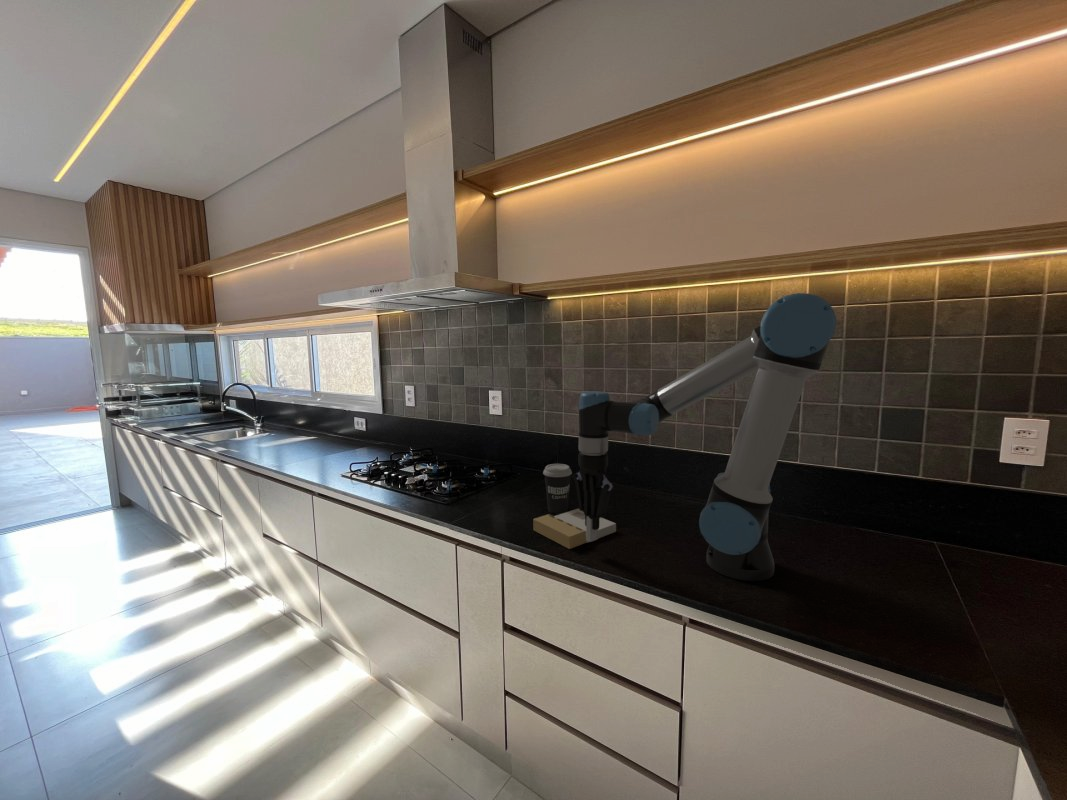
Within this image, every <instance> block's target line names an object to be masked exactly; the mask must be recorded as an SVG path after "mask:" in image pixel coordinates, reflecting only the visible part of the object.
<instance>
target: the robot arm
mask: <svg viewBox="0 0 1067 800" xmlns="http://www.w3.org/2000/svg"><path fill="white" fill-rule="evenodd" d="M836 328H837V317H836V313H835V310H834V309H833V307H832V305H831V304H830V303H829V302H827V300H826V299H824V298H822V297H820V296H819V295H815V294H812V293H804V292H801V293H800V292H797V293H791V294H787V295H784V296H782V297H781V298H779V299H777V300H776V301H774V302H773V303H771V305H770V306H769V307H768V308H767V310H766V311H765V312H764V313H763V316H762V318H761V321H760V325H759V326H757V327H755V328H753V329H752V332H751V335H750V336H748V337H747V338H745V339H744V340H742V341H740V342H737V343H735V345H733V346H731V347H730V348H728V349H726V350H724V351H723V352H721V353H719V354H717V355H715V356H714V357H712V358H711V359H709V360H707V361H705V362H703V363H702V364H699V366H696V367H695V368H694V369H691V370H690V371H688V372H686V373H684V374H683V375H681V376H680V377H678V378H675V379H674V380H673V381H672V380H671V382H669V383H667V384H665V385H664V386H662V387H661V388H659V389H657V390H655V391H653V392H652V393H650V394H648V395H646V396H644V397H642V398H640V399H637V400H633V401H629V402H628V401H615V400H614V401H613V400H611V399H610V394H609V393H608V392H606V391H601V390H600V391H599V390H598V391H597V390H595V391H594V390H591V391H590V390H589V391H584V392H581V394H579V395H580V396H579V400H578V401H579V405H578V419H579V420H578V451H579V452H578V456H577V457H578V459H577V460H578V461H577V463H578V466H579V471H578V472H576V473H572V478H573V480H574V483H575V490H576V496H577V502H578V503H577V504H578V508H579V510H580V511H583V512H584V514H585V526H586V540H587V541H589V542H588V543H591V542H594V541H597V540H598V539H599V538H598V529H599V519H600V517H601V518H604V517H605V516H607V511H608V508H609V503H610V499H611V493H612V491H613V490H614V488H615V483H614V482H610V481H609V480H608V475H607V468H608V466H609V454H608V451H609V432H615V433H616V432H617V433H623V434H631V435H637V436H653V435H654V434H655V433H656V431H657V429H658V426H659V424H660V423H661V422H663V421H664V420H666V419H669V418H670V417H672V416H673V415H676V414H677V413H679V412H681V411H683V410H685V409H686V408H688V407H690V406H692V405H694V404H696V403H698V402H700V401H702V400H704V399H706V398H707V397H710V396H711V395H714V394H715V393H717V392H719V391H721V390H723V389H724V388H727V387H728V386H730V385H732V384H734V383H736V382H738V381H740V380H742V379H743V378H746V377H747V376H750V375H751V374H753V373H754V372H756V371H757V372H756V375H755V377H754V381H753V384H752V386H751V390H750V393H749V397H748V400H747V401H746V402H747V403H746V405H745V409H744V412H743V415H742V418H741V421H740V424H739V427H738V430H737V434H736V437H735V440H734V443H733V446H732V449H731V452H730V455H729V459H728V461H727V465H726V468H725V471H724V472H720V473H718V474H717V476H716V477H715V478H714V480H713V483H712V487H711V490H710V492H709V495H708V499H707V502H706V505H705V506H704V507H703V508H702V509H701V512H700V515H699V520H698V525H699V530H700V533H701V535H702V536H703V538H704V539H705V541H706V542H707V543H708V544H709V545H708V547H707V550H706V563H707V565H708V566H709V567H710V568H711V569H712V570H713V571H715V572H717V573H718V574H720V575H722V576H725V577H727V578H731V579H734V580H738V581H747V582H760V581H766V580H769V579H770V578H772V577H773V576H774V575H775V561H774V557H773V554H772V550H771V548H770V545H769V541H768V535H769V516H770V515H769V511H770V508H771V505H772V503H773V499H774V498H773V496H772V495H771V491H772V490H771V485H770V483H771V480H772V478H773V474H774V472H775V469H776V466H777V463H778V461H779V457H780V455H781V452H782V450H783V446H784V443H785V440H786V439H787V438H786V437H787V435H788V432H789V429H790V426H791V423H792V420H793V418H794V415H795V413H796V409H797V406H798V403H799V401H800V399H801V398H800V397H801V395H802V392H803V389H804V387H805V383H806V380H807V379H808V378H809V377H810V376H813V375H814V374H817V373H819V371H820V368H821V366H822V363H823V360H824V357H825V355H826V352H827V349H828V346H829V343H830V341H831V340H832V338H833V336H834V334H835V331H836Z"/></svg>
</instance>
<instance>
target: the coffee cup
mask: <svg viewBox="0 0 1067 800" xmlns="http://www.w3.org/2000/svg"><path fill="white" fill-rule="evenodd" d="M542 474H543V475H544V481H545V482H544V483H545V490H546V493H545V494H546V502H547V511H548V513H549V514H554V515H560V514H563V513H566V512H568V507H569V497H570V496H569V493H570V483H571V475H573V472H572V469H571V468H570V465H568V464H564V463H551V464H547V465H546V466H545V467H544V469H543V472H542Z"/></svg>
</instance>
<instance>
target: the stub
mask: <svg viewBox="0 0 1067 800" xmlns="http://www.w3.org/2000/svg"><path fill="white" fill-rule="evenodd" d="M554 516H555V515H552V514H550V513H549V514H545V515H541V516H538V517H535V518H533V520H532V521H533V522H532V523H533V525H532V526H533V527H532V528H533V530H532V531H534V532H536V533H538V534H540V535H542V536H543V537H546V538H547V539H549V540H551V541H553V542H556V543H557V544H559V545H561V546H562V547H565V548H566V549H568V550H572V549H573V548H576V547H578V546H581V545H583V544H586V531H585V530H583V529H580V528H578V527H576V526H574V525H572V524H569V523H567V522H565V521H563V520H561V519H558V518H556V517H554Z"/></svg>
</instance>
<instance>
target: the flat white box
mask: <svg viewBox="0 0 1067 800" xmlns="http://www.w3.org/2000/svg"><path fill="white" fill-rule="evenodd" d="M553 516H554V517H556V518H558V519H561V520H563V521H565V522H567V523H569V524H572V525H574V526H576V527H578V528H580V529H583V530H585V531H586V526H585V514H584V512H583V511H580V510H579V507H578V508H575V509H573V510H569V511H567V512H566V513H563V514H555V515H553ZM616 532H617V523H616V522H613V521H611V520H608V519H606V518H604V517H600V519H599V529H598V539H601V538H603V537H605V536H608V535H610V534H611V535H612V534H613V533H616ZM586 543H587V544H588V543H590V542H589V541H587V540H586ZM586 543H585V544H586Z"/></svg>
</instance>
